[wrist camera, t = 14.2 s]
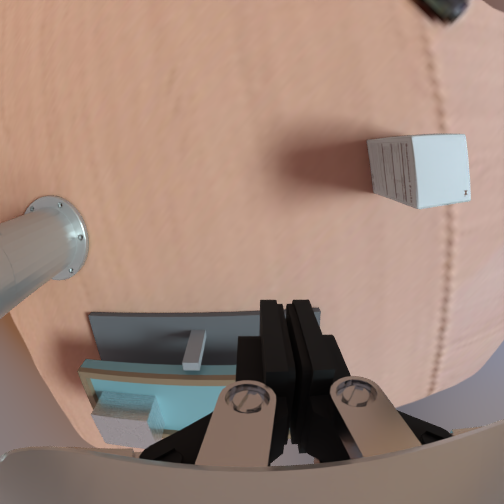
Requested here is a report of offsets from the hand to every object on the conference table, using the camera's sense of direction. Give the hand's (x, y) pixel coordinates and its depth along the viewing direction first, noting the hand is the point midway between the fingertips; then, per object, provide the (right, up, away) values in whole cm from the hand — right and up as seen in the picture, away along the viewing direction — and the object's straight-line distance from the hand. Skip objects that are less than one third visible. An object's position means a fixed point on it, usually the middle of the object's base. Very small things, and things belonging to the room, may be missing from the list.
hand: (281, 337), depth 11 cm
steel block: (-18, -19, +28) cm, 38 cm away
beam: (-8, -17, +29) cm, 35 cm away
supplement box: (+18, +15, +28) cm, 36 cm away
